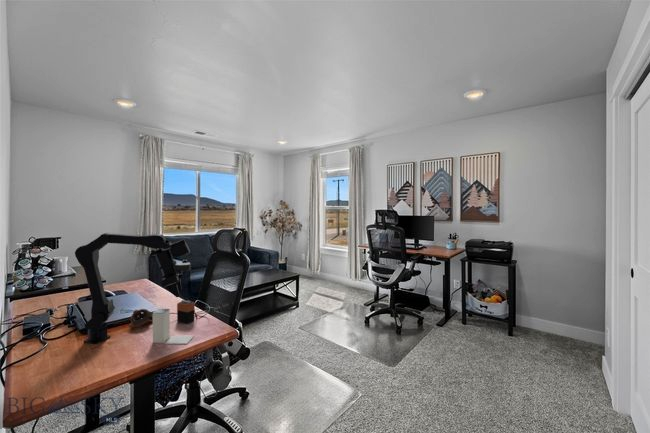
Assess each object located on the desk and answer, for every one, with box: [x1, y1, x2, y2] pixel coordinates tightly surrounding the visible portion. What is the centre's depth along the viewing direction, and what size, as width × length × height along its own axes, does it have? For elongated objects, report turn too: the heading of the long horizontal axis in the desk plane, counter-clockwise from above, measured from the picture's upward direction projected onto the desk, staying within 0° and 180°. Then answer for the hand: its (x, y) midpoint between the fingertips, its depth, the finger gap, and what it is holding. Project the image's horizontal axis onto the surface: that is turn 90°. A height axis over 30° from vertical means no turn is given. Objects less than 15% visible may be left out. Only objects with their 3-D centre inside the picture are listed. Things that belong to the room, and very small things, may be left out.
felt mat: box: [163, 334, 195, 345], centre depth 121 cm, size 9×7×1 cm
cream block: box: [152, 308, 171, 344], centre depth 120 cm, size 4×4×12 cm
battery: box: [176, 299, 195, 325], centre depth 140 cm, size 4×7×10 cm, turn 69°
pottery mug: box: [130, 308, 153, 329], centre depth 135 cm, size 12×9×8 cm
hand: (179, 293), depth 130 cm, fingers open, 9 cm apart
